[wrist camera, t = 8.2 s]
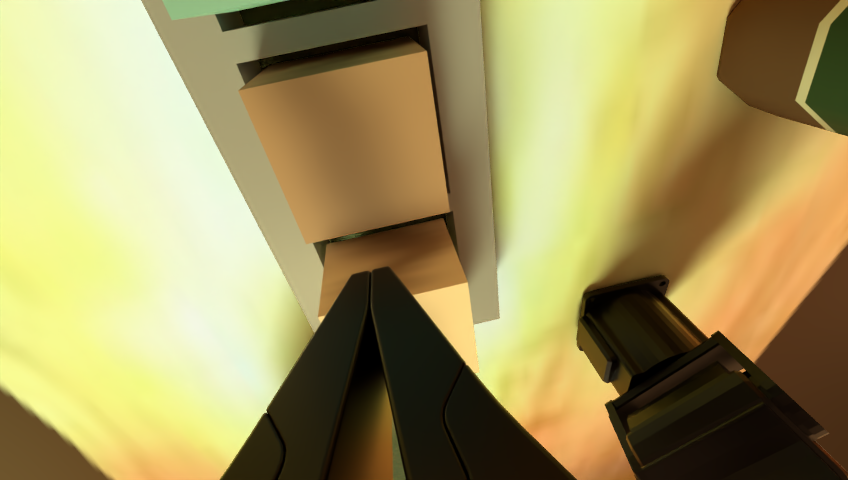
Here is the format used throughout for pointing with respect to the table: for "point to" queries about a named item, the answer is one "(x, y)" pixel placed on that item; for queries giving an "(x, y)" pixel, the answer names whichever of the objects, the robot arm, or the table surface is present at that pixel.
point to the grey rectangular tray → (384, 12)
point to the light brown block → (410, 276)
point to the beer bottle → (790, 59)
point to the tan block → (352, 137)
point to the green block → (210, 7)
